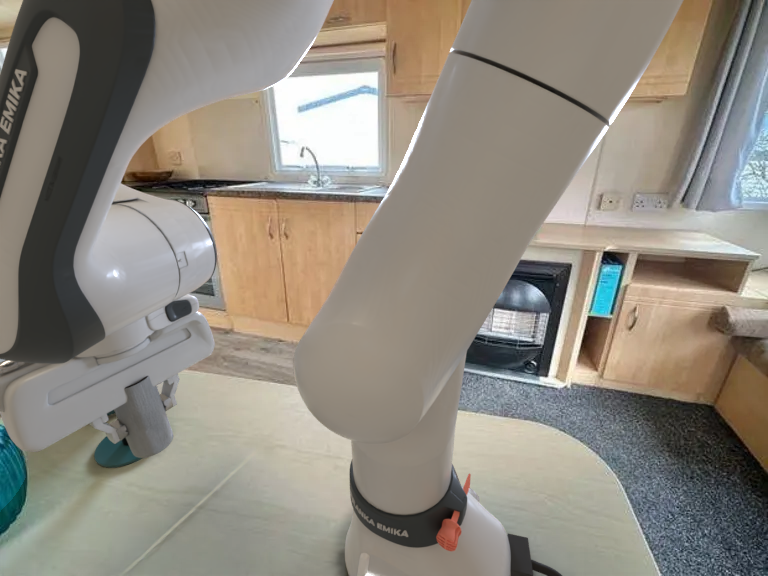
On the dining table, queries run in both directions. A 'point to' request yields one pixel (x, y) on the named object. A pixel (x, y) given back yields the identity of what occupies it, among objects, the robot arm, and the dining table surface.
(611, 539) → the dining table surface
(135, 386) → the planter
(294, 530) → the dining table surface
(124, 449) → the lid
